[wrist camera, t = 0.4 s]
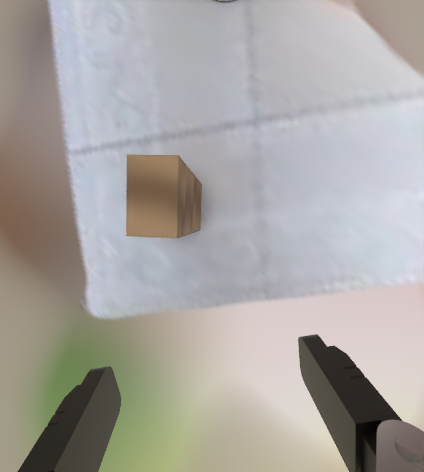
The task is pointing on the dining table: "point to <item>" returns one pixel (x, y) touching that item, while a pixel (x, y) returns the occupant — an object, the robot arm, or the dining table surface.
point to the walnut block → (161, 197)
